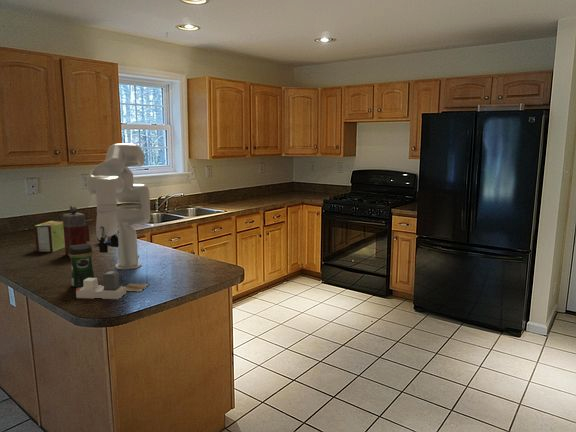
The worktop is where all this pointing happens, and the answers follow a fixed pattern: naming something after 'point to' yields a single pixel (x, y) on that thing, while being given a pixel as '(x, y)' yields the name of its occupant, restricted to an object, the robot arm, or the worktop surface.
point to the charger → (111, 280)
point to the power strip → (98, 290)
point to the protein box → (49, 236)
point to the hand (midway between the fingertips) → (109, 249)
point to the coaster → (135, 287)
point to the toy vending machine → (75, 229)
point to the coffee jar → (80, 264)
